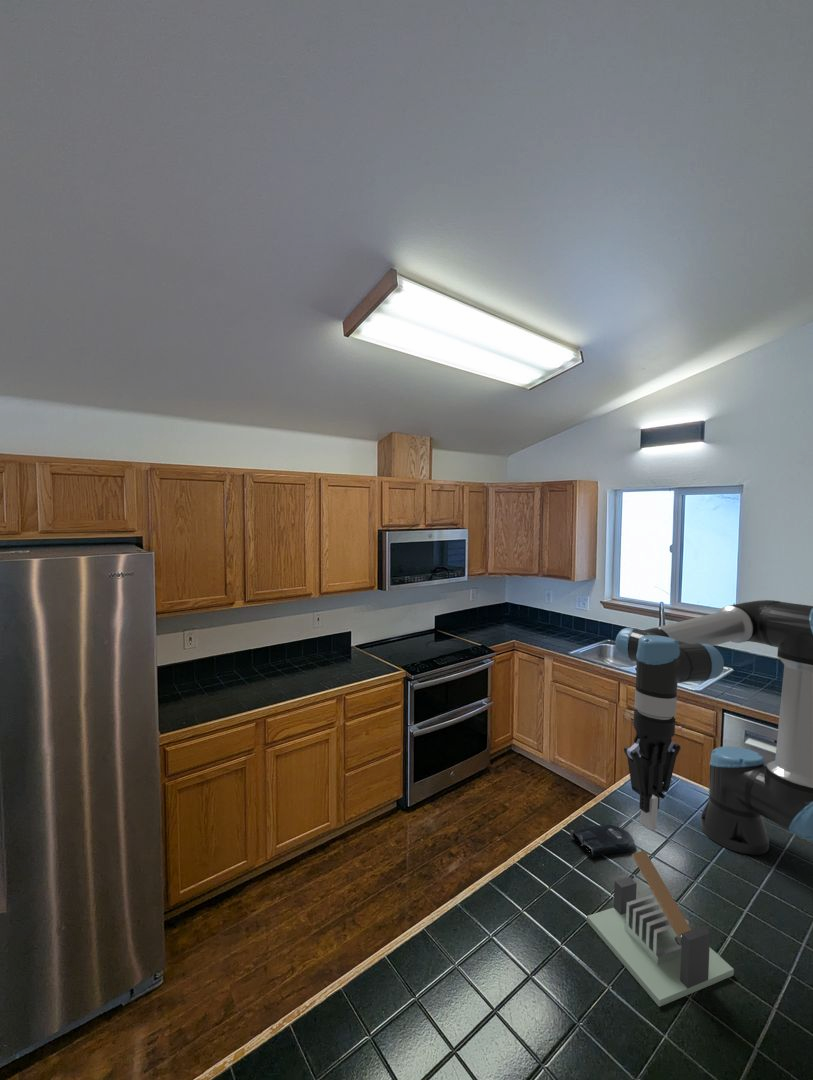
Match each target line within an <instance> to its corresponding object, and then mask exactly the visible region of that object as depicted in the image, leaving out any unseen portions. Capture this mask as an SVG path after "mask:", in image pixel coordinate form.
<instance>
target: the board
mask: <svg viewBox="0 0 813 1080" xmlns="http://www.w3.org/2000/svg"><path fill="white" fill-rule="evenodd" d="M637 884H638V883H637V882H636V881H635V880H634V879H633V878H632V877H631V876H626V877H622V878H619V879H616V880H614V887H613V888H614V889H613V907H611V908H608V909H604V910H602V911H599V912H596V913H593V914H589V915H587V916H586V923H587V924H588V925H589V926H590V927H591V929H593V930H594V932H595V933H596V934H597V935H598V936H599V938H600V939H601V940H602V941H603V942H604V943H605V945H606V946H607V947H608V948H609V949H610V950H611V952H612V953H613V954H614V955H615V957H616V958H617V959H618V961H620V963H621V964H622V965H623V966H624V967H625V969H627V971H628V972H629V973H630V975H632V977H633V978H634V979H635V980H636V982H637V983H638V984H639V985H640V986H641V987H642V989H643V990H644V991H645V993H647V995H649V997H650V998H651V999H652V1001H654V1002H655V1005H657V1006H658V1007H659V1008H660V1007H662V1006H665V1005H667V1004H670V1003H672V1002H675V1001H677V1000H679V999H682V998H683V997H686V996H688V995H690V994H693V993H696V992H697V991H700V990H702V989H705V988H707V987H710V986H712V985H715V984H717V983H719V982H721V981H724V980H725V979H729V978H731V977H733V976H734V973H735V970H734V968H733V967H732V966H731V965H730V964H729V963H728V962H727V961H726V960H725V959H723V958H722V956H720V955H719V954H718V953H717V952H716V951H714V949H712V948H711V947H710V946H711V945H710V944H711V932H710V931H709V930H708V929H706V927H705V926H703V925H701V926H698V927H695V928H692V929H691V930H690V931H687V932H684V933H682V944H681V956H680V957H678V958H675V959H673V960H670V961H667V962H665V963H662V964H660V965H657V964H656V963H655V962H654V961H653V960H652V959H651V958H650V957H649V956H648V955H647V954H646V952H645V951H644V950H643V949H642V948H641V947H640V946H639V945H638V944H637V943H636V942H635V941H634V939H633V938H632V937H631V936H630V935H629V934H628V933H627V932H626V931H625V930H624V923H625V922H626V906H627V902H630V901H633V900H636V899H637Z"/></svg>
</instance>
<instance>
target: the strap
mask: <svg viewBox="0 0 813 1080" xmlns="http://www.w3.org/2000/svg"><path fill="white" fill-rule="evenodd" d="M631 856H632V858H633V860H634V861H635V863H636V865H637V867H638V869H639V871H640V873H641V874H642V876H643V877H644V880H645V882H646V884H647V885H648V887H649V889H650V890H651V892H652V894H654V896H655V898H656V899H657V901H658V903H659V905H660V907H661V908H662V910H663V912H664V914H665V916H666V917H667V919H668V921H669V923H670V924H671V926H672V928H673V930H674V932H675V933H676V935H677V936H676V937H675V941H676V943H677V944H678V945H681V944H682V933H684V932H687V931H690V930H692V929H691V927H690V925H688V923H687V922H686V920H687V919H686V918H685V916H684V915H683V913H682V912H681V910H680V908H679V906H678V905H677V903H676V901H675V900H674V897H673V896H672V894H671V893H670V891H669V889H668V888H667V886H666V884H665V882H664V880H663V878H662V877H661V876H660V873H659V872H658V870H657V869H656V867H655V865H654V864H653V862H652V860H651V858H650V856H649V855H648V853H647V851H646V850H642V851H637V852H634V853H632V854H631ZM685 919H686V920H685Z"/></svg>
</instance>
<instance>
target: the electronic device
mask: <svg viewBox="0 0 813 1080" xmlns="http://www.w3.org/2000/svg"><path fill="white" fill-rule="evenodd" d="M569 834H570V839H571V840H573V841H574V842H576V844H577V845H578V846H579V848H581V849H582V848H583V849H582V851H584V852H586V853H588V856H589V857H590V858H595V857H599V856H600V857H601V856H604V855H610V854H614V853H618V854H620V853H622V854H623V853H629V852H630V851H633V849H634V847H635V840H634V838H633V836H632V835H631V834H630V832H629V831H628V830H626V829H624V828H622V827H621V826H617V825H616V824H615V825H614V824H600V825H594V826H591V827H585V828H583V829H580V830H578V831H575V830H574V829H573V830H572V829H570V830H569ZM577 842H578V843H577ZM579 842H580V844H579ZM581 844H582V845H584V846H581ZM586 846H588V847H589V848H588V849H591V851H590V850H587V849H586V848H587V847H586ZM587 851H590V852H592V853H591V854H590V853H589V852H587ZM589 854H590V855H589ZM591 855H592V856H591Z"/></svg>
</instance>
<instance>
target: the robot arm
mask: <svg viewBox="0 0 813 1080" xmlns="http://www.w3.org/2000/svg"><path fill="white" fill-rule="evenodd" d="M614 642H615V649H616V652H617V653H618V654H619V656H621V657H623V658H625V659H628V660H629V661H631V662H635V663H636V667H635V668H636V669H635V670H636V671H635V692H634V708H635V709H634V711H633V725H632V726H633V728H634V729H635V733H636V734H635V736H634V739H633V744H632V745H631V746H630V747H629V746H625V747H624V748H623V752H624V754H625V756H626V757H627V763H628V765H627V766H628V772H629V779H630V785H631V790H632V791H634V792H635V793H636V794H638V795H639V805H638V807H639V810H640V821H639V822H640V823H641V825H644V826H645V827H646V828H647V829H648V830H650V831H654V830H657V828H658V827H657V824H658V811H659V808H660V800H661V799H662V800H663V799H664V798H665V797H666V794H664V793H667V792H668V791H669V789H670V786H671V782H672V777H673V773H674V769H675V764H676V761H677V756H678V755H679V752H680V751H681V745H679V744H677V743H676V742H674V741H673V739H672V738H673V737H674V736H675V733H676V718H675V716H676V715H677V702H678V700H677V699H678V695H677V694H678V684H681V683H682V684H683V683H688V682H699V681H700V682H706V681H709V680H712V679H716V678H718V677H719V676H720V675H721V674H722V673H723V670H724V667H725V665H724V663H725V661H724V657H723V656H722V653H721V652H720V651H719V650H718V649H717V648H716V646H718V645H721V644H725V643H729V642H730V643H731V642H732V643H735V644H741V643H742V644H743V643H745V642H750V643H751V642H752V643H757V644H762V645H767V646H770V647H774V648H777V656H776V657H777V658H778V659H779V661H781V663H782V664H783V675H782V686H781V695H780V696H781V697H780V707H779V716H778V727H777V737H776V738H777V739H776V749H775V759H774V760H773V761H770V762H768V763H767V764H765V763H766V760H765V758H764V756H763V755H762V754H761V753H759V752H757V751H755V750H751V749H749V748H744V747H738V746H727V745H726V746H718V747H716V748H713V750H712V751H711V755H710V761H709V789H708V793H709V794H708V800H707V803H706V805H705V807H704V809H703V811H702V813H701V815H700V829H701V831H702V832H703V833H704V834H705V836H707V837H708V838H709V839H710V840H712V841H713V842H714V843H716V844H718V845H720V846H722V847H723V848H725V849H728V850H731V851H732V852H733V851H734V852H736V853H740V854H743V855H744V854H745V855H752V856H754V855H755V856H759V855H764V854H766V853H767V852H768V851H769V849H770V837H769V833H768V831H767V829H766V825H765V822H764V818H766V819H768V820H769V821H771V822H772V823H775V824H776V825H778V826H780V827H781V828H783V829H785V830H787V831H789V833H791V834H793V835H796V836H798V837H800V838H802V839H804V840H807V841H808V842H813V605H808V604H801V603H792V602H787V601H786V602H785V601H780V600H773V599H772V600H770V599H769V600H768V599H766V600H765V599H762V600H753V601H746V602H741V603H736V604H735V603H734V604H731V605H727V606H724V607H721V608H720V609H718V611H717V612H715V613H710V614H707V615H702V616H698V617H694V618H690V619H686V620H682V621H677V622H674V623H669V624H665V625H661V626H656V627H652V628H647V629H643V630H642V629H639V628H635V627H634V628H632V627H625V628H622V629H620V631H619V632H618V634H617V635H616V638H615V641H614ZM763 817H764V818H763Z"/></svg>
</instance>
